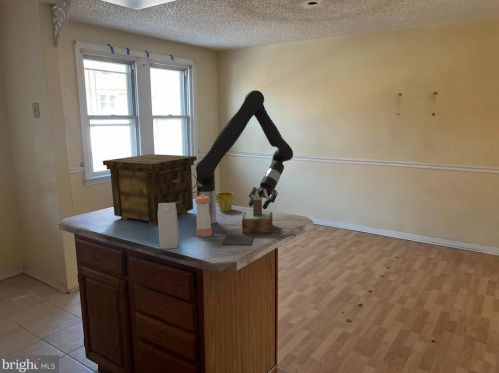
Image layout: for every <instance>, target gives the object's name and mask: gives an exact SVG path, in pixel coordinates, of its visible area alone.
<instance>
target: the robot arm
mask: <svg viewBox="0 0 499 373" xmlns="http://www.w3.org/2000/svg"><path fill="white" fill-rule="evenodd" d="M264 102H265V96H264V94H263V92H261V91H260V90H256V89H254V90H250V91H248V92H247V93H246V95H245V97H244V100H243V102H242V104H241V105H240V107H239V109H238V110H237V111H236V112H235V114H233V115H232V117H231V118H230V119H229V120H228V121H227V122H226V123H225V124H224V126H223V127H222V128H221V129H220V131H219V133H218V134H217V136H216V138H215V140H213V141H214V142H213V143H212V146H211V147H210V148H209V150H208V152H207V153H206V154H205V155H204V157H203V158H202V159H200V160H198V161H197V163H196V166H195V172H196V192H197V193H196V194H197V195H196V196H197V197H198V196H201V195H202V194H203V195H204V196H208V197H209V198H210V203H209V214H210V219H211V225H214V224H216V223H217V206H216V205H217V204H216V203H217V202H216V201H217V200H216V182H215V181H216V179H215V178H216V177H215V176H216V175H215V171H216V169H217V167H218V165H219V164H220V162H221V161H222V159H223V158H224V157H225V155H226V154H227V153H228V152H229V151H230V150H231V149H232V148H233V146H234V145H235V144H236V142H237V141H238V140H239V138H240V137H241V135H242V133H244V130H245V129H246V127H247V125H248V124H249V122H250V121H251V119H252V118H253V117H255V119H256V120H257V122H258V124H259V125H260V127H261V130H262V131H263V133H264V135H265V137H266V140H267V141H268V143H269V145H270V146H271V147H273V148H277V149H276V150H275V152H273V155H272V158H271V162H270V163H271V164H270V165H269V167H268V169H267V170H266V172H265V174H264V175H263V178H262V180H261V182H260V184H259V187H258V188H257V187H255V186H253V187H252V189H251V191H250V193H249V194H248V198H250V200H249V201H248V206H249V207H250V208H253V198H262V199H263V198H264V199H265V201H264V203H263V204H262V210H267V209H268V207H269V205H270V204H271V203H275V201H276V198H277V196H278V194H279V192H278V191H277V190H276V187H277V185H278V183H279V181H280V179H281V177H282V174H283V172H284V170H285V165H284V164H283V163H284V162H287V161H290V160H292V159H293V157H294V150H293V149H292V147H291V146H290V144H288V142H287V141H286V140H285V139H284V138H283V137H282V134H281V133H280V131H279V129H278V127H277V125H276V124H275V123H274V122H273V120H272V119H271V117H270V116H269V114H268V111H267V110H266V108H265V105H264ZM197 197H196V198H197Z"/></svg>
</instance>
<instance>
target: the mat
mask: <svg viewBox="0 0 499 373" xmlns="http://www.w3.org/2000/svg"><path fill="white" fill-rule="evenodd" d="M254 236H255V235H254V234H225V236H224V239H223V240H222V243H221V246H252V245H253V241H254Z"/></svg>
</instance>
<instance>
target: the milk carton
mask: <svg viewBox="0 0 499 373" xmlns="http://www.w3.org/2000/svg"><path fill="white" fill-rule="evenodd" d="M157 226H158V241H159V249H160V250H164V249H165V250H166V249H168V250H169V249H178V246H179V227H178V226H179V225H178V215H177V209H176V205H175V203H158V225H157Z"/></svg>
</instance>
